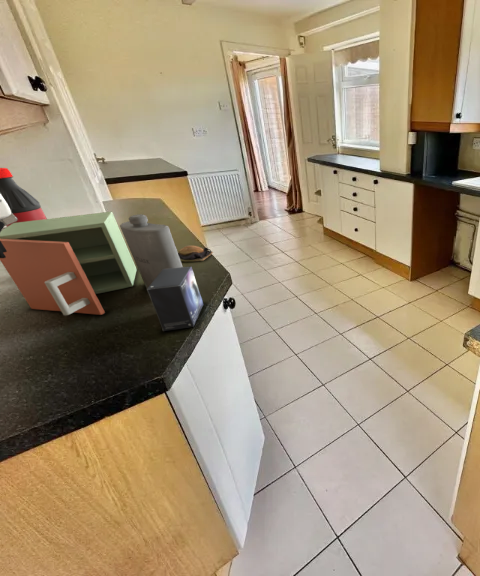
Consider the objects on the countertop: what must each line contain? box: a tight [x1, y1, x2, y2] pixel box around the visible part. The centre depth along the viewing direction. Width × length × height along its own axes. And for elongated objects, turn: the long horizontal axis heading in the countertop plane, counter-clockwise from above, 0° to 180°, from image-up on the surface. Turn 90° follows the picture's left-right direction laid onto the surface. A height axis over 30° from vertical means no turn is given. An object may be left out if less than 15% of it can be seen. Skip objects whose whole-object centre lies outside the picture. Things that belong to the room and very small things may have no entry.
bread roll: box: [177, 245, 214, 263], centre depth 104 cm, size 11×8×4 cm
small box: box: [146, 266, 204, 332], centre depth 70 cm, size 11×6×10 cm, turn 17°
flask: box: [119, 213, 184, 289], centre depth 81 cm, size 15×6×20 cm, turn 64°
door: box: [0, 239, 106, 316], centre depth 69 cm, size 6×20×18 cm, turn 81°
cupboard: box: [0, 210, 138, 295], centre depth 83 cm, size 13×20×18 cm, turn 121°
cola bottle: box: [0, 167, 48, 228], centre depth 88 cm, size 8×8×30 cm
